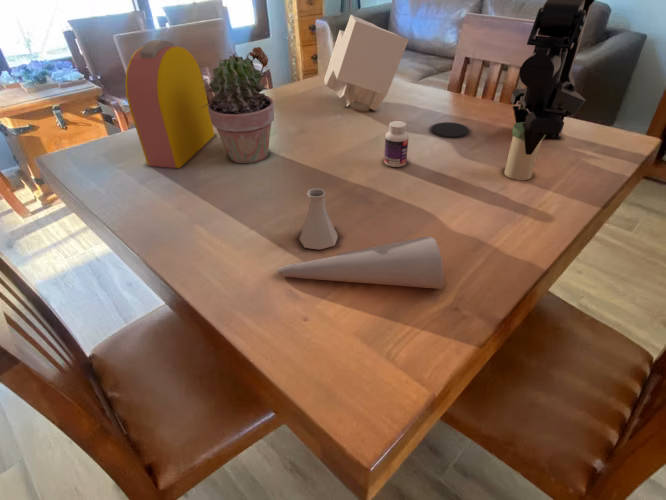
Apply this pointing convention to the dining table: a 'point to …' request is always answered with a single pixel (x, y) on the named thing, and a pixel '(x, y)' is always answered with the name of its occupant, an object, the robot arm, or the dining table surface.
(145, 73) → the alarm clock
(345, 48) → the beige tilted block
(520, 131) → the lid
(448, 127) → the coaster
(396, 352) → the dining table surface
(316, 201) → the flask
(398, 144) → the pill bottle
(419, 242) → the grey long cone
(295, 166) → the dining table surface
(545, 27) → the robot arm
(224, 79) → the potted plant
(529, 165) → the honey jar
